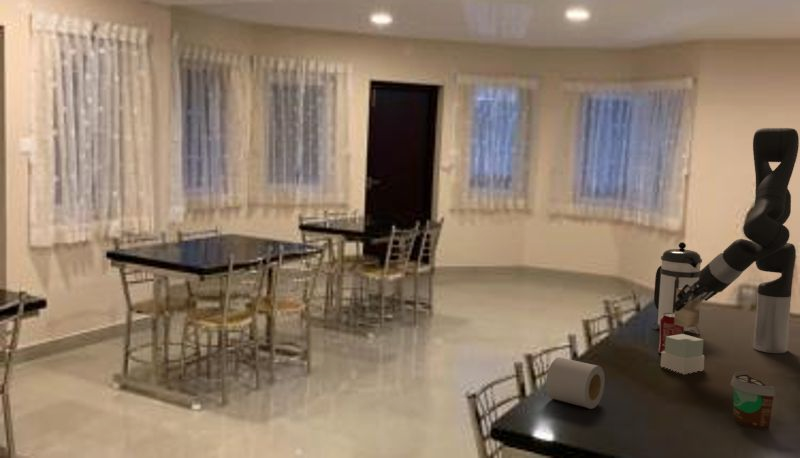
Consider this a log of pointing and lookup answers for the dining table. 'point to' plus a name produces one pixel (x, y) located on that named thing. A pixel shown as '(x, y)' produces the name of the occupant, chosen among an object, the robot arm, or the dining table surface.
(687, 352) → the tower top
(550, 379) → the toilet paper
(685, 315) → the beech pillar
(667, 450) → the dining table surface
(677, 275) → the coffee press
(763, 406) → the food container
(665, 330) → the soda can
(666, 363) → the tower base
